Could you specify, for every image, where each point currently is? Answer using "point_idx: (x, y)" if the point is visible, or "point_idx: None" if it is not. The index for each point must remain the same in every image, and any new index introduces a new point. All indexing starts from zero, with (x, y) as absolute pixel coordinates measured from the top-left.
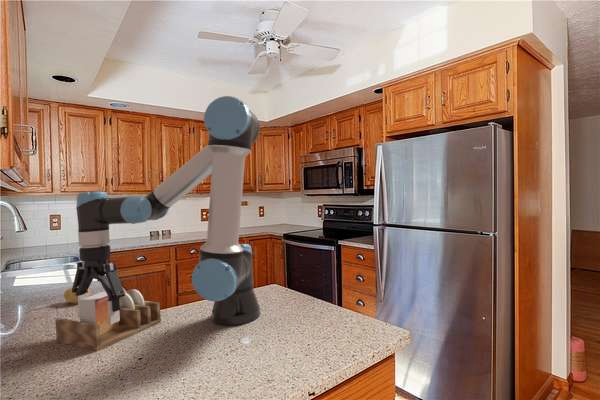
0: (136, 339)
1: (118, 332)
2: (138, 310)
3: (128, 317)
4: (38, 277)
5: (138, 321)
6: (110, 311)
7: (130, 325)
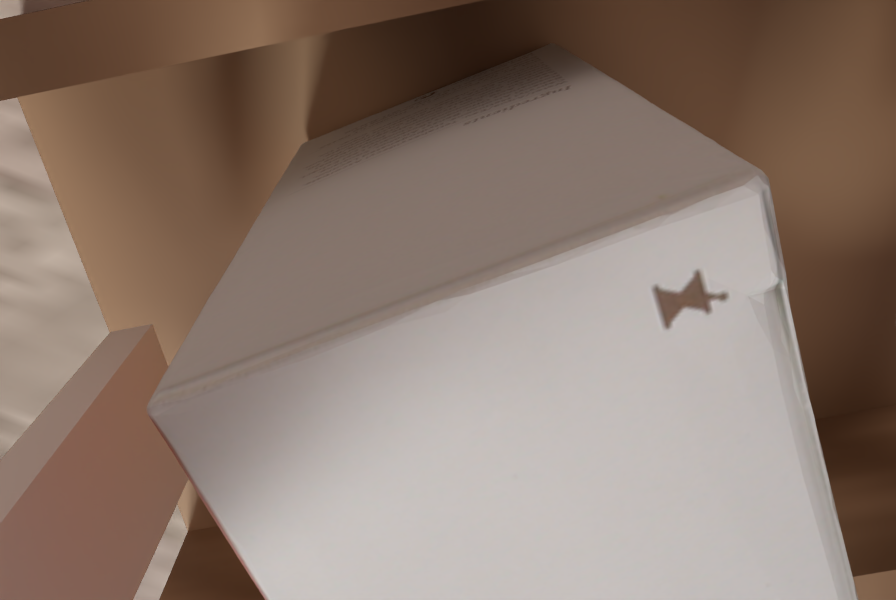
0: (21, 415)
1: None
2: None
3: None
4: None
5: (166, 596)
6: (23, 450)
7: None
